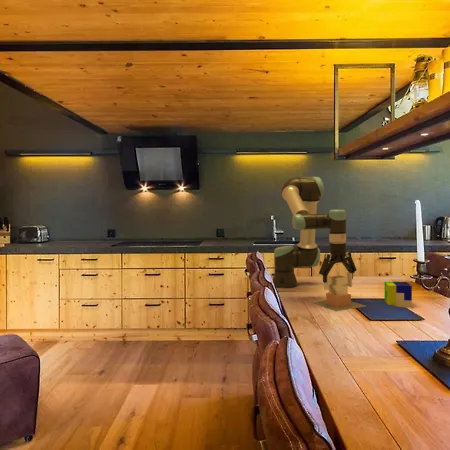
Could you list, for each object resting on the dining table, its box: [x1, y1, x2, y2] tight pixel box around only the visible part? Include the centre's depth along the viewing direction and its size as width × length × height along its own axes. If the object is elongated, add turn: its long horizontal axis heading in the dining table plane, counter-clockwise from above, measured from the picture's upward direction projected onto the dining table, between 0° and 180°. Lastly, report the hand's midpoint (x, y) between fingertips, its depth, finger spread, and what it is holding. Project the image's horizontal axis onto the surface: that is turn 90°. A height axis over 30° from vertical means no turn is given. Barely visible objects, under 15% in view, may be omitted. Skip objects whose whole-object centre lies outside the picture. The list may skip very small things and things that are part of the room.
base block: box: [325, 292, 352, 307], centre depth 191 cm, size 8×8×5 cm
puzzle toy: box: [384, 281, 413, 309], centre depth 192 cm, size 10×10×10 cm
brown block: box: [328, 274, 349, 296], centre depth 191 cm, size 6×6×8 cm
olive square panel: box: [312, 300, 366, 312], centre depth 191 cm, size 18×18×1 cm
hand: (338, 288), depth 191 cm, fingers open, 13 cm apart
